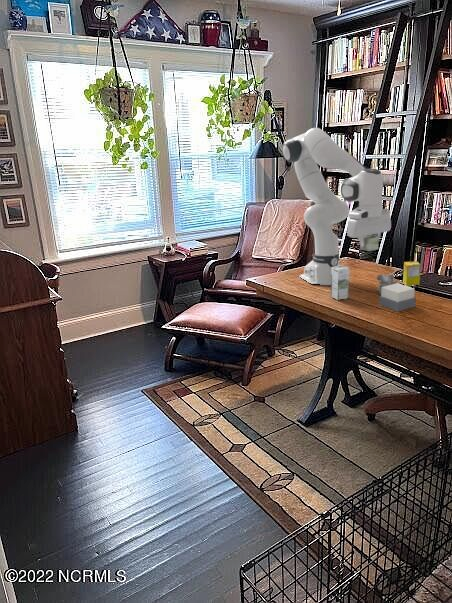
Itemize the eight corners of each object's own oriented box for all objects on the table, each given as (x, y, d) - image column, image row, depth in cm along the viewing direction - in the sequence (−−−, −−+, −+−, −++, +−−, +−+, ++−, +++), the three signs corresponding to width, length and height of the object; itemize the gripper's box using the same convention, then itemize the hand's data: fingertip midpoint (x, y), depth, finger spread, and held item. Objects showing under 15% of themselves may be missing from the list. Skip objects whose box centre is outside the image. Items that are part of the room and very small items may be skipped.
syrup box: (341, 295, 205) (342, 264, 200) (349, 299, 199) (349, 267, 194) (330, 297, 203) (330, 266, 198) (337, 301, 198) (338, 269, 193)
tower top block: (381, 296, 190) (381, 287, 188) (397, 291, 193) (397, 283, 192) (397, 302, 182) (398, 292, 180) (413, 297, 185) (414, 288, 184)
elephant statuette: (382, 297, 200) (383, 280, 197) (368, 287, 211) (369, 272, 208) (400, 294, 201) (402, 278, 198) (386, 285, 212) (388, 269, 209)
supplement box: (415, 283, 212) (417, 261, 209) (419, 287, 207) (421, 264, 203) (402, 284, 213) (403, 261, 209) (405, 288, 207) (407, 265, 204)
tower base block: (379, 305, 191) (379, 296, 189) (396, 300, 195) (397, 291, 193) (397, 312, 182) (398, 303, 181) (415, 307, 186) (416, 298, 185)
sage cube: (360, 249, 186) (360, 237, 184) (369, 247, 188) (369, 235, 186) (368, 251, 182) (369, 239, 180) (378, 249, 184) (378, 237, 182)
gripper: (384, 207, 186) (382, 239, 191) (345, 213, 178) (344, 248, 183) (395, 208, 181) (394, 242, 186) (356, 215, 173) (355, 250, 177)
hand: (369, 245), depth 184 cm, fingers closed on sage cube, 5 cm apart
